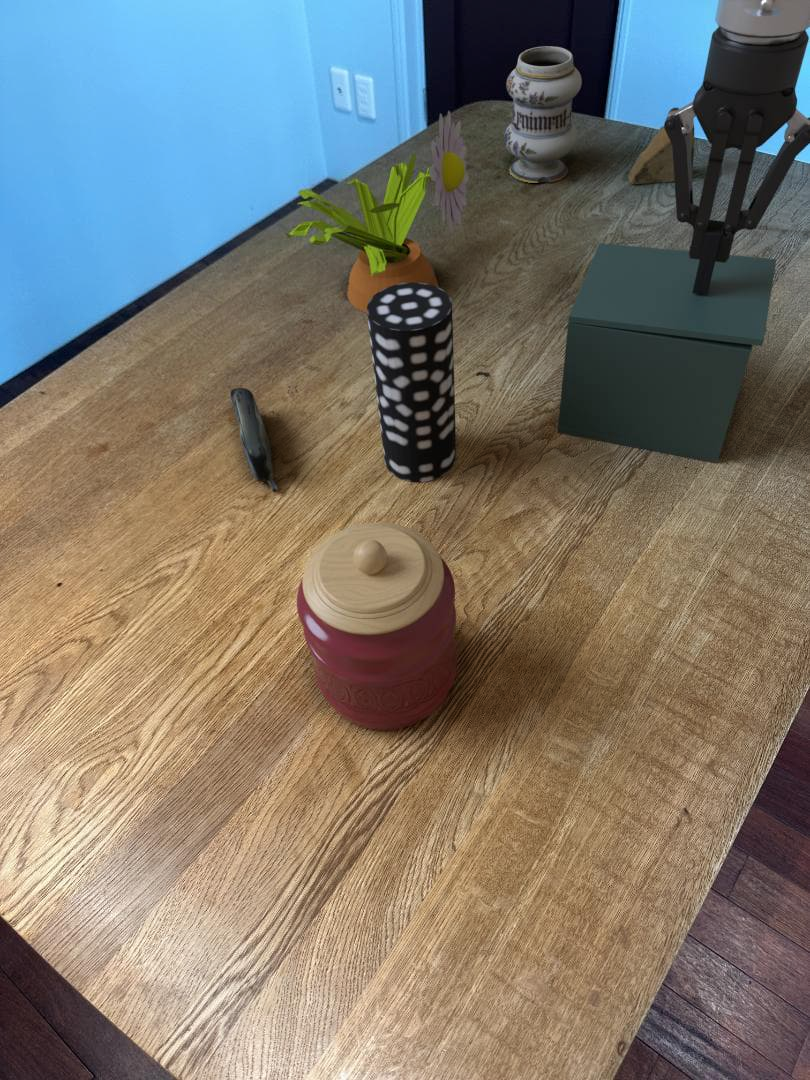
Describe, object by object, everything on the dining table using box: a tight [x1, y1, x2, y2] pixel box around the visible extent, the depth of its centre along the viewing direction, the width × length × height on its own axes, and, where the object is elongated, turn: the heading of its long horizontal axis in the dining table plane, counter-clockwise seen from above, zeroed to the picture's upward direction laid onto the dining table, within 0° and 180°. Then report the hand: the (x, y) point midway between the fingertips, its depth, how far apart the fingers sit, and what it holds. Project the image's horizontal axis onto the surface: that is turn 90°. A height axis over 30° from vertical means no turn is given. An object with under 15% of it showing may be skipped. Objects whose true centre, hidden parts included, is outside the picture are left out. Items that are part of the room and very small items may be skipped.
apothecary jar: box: [503, 45, 583, 184], centre depth 132 cm, size 12×12×18 cm
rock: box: [627, 119, 695, 185], centre depth 132 cm, size 11×9×10 cm
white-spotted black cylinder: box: [366, 283, 457, 483], centre depth 86 cm, size 8×8×20 cm
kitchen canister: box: [296, 521, 458, 731], centre depth 68 cm, size 13×13×18 cm
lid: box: [567, 242, 777, 347], centre depth 85 cm, size 19×15×1 cm
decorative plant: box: [285, 110, 470, 314], centre depth 109 cm, size 27×24×25 cm
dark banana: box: [230, 387, 278, 493], centre depth 94 cm, size 5×3×15 cm
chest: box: [556, 322, 753, 464], centre depth 91 cm, size 18×15×15 cm
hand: (701, 286), depth 84 cm, fingers closed
